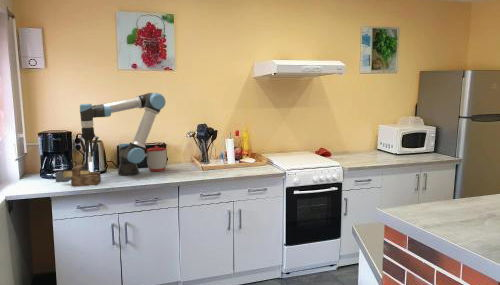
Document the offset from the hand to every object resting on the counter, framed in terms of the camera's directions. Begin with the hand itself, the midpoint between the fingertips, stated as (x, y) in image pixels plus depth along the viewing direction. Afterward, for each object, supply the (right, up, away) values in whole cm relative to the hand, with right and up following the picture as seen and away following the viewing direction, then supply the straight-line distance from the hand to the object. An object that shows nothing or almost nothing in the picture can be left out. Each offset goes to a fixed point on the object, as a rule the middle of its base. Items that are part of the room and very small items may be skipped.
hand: (90, 161), depth 250 cm
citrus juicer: (+34, -9, +42) cm, 54 cm away
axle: (-9, -8, -1) cm, 12 cm away
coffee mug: (-30, -11, +31) cm, 44 cm away
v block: (-23, -14, +10) cm, 29 cm away
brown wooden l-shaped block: (-3, -15, +1) cm, 16 cm away
